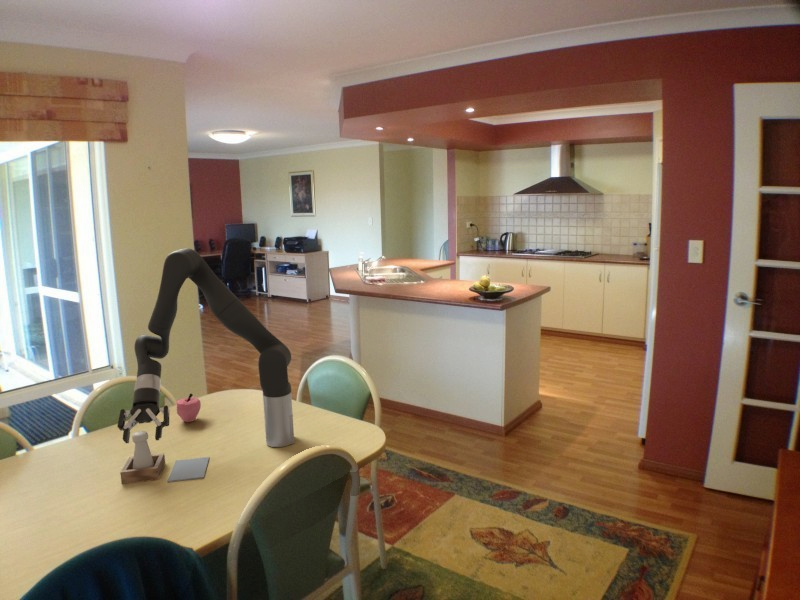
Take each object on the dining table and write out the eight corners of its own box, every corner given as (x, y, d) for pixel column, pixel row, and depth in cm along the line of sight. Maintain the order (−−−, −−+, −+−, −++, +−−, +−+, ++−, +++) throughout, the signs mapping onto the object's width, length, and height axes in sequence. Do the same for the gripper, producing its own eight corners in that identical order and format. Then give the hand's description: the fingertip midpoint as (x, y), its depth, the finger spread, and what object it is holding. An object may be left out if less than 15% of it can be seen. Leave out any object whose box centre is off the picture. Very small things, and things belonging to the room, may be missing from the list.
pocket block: (165, 463, 170) (164, 453, 169) (158, 479, 160) (157, 468, 159) (130, 467, 168) (129, 456, 167) (121, 483, 158) (120, 472, 157)
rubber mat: (209, 458, 173) (209, 456, 173) (203, 478, 160) (203, 476, 160) (175, 461, 171) (175, 460, 171) (167, 482, 158) (167, 481, 158)
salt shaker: (146, 478, 160) (141, 437, 158) (129, 477, 162) (124, 436, 159) (158, 469, 166) (154, 429, 164) (142, 467, 167) (137, 428, 165)
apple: (178, 417, 206) (175, 392, 204) (202, 414, 208) (200, 389, 207) (176, 427, 197) (173, 401, 195) (201, 424, 199) (199, 398, 198)
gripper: (119, 388, 168) (112, 438, 159) (168, 384, 171) (164, 433, 162) (126, 398, 174) (119, 448, 165) (173, 394, 177) (169, 443, 168)
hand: (142, 441), depth 164 cm, fingers open, 8 cm apart
